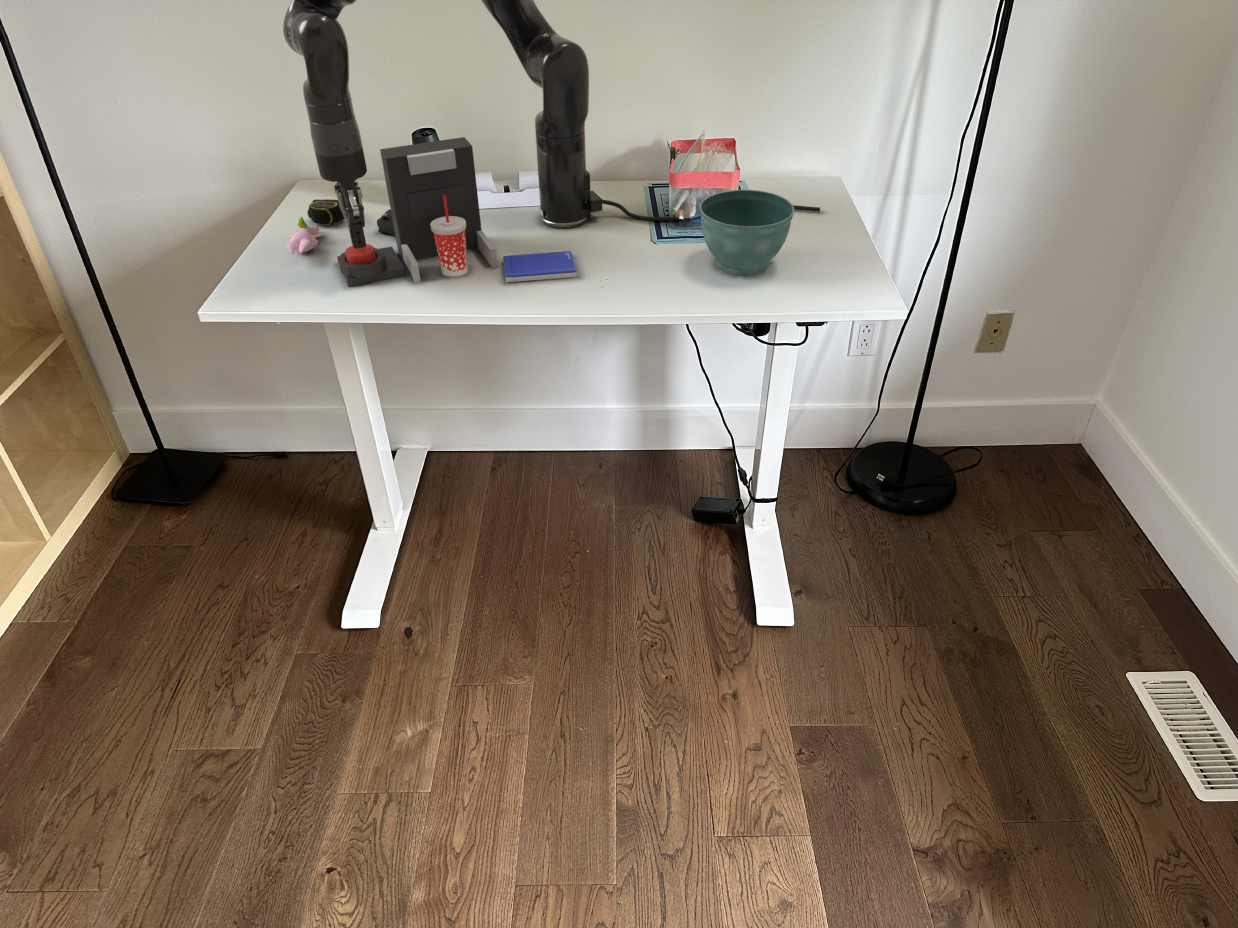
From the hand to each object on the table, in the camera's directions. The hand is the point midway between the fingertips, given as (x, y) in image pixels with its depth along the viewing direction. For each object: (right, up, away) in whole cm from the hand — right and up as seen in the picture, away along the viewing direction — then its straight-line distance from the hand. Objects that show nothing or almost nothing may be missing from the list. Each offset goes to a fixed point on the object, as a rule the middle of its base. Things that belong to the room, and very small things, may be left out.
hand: (359, 246), depth 150 cm
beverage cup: (+16, -3, +5) cm, 17 cm away
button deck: (+1, -3, +5) cm, 6 cm away
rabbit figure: (-13, +2, +12) cm, 18 cm away
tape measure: (-13, +11, +22) cm, 28 cm away
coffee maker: (+14, 0, +8) cm, 16 cm away
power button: (0, -2, +1) cm, 2 cm away
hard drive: (+31, -3, +5) cm, 31 cm away
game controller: (+2, +8, +19) cm, 21 cm away
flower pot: (+67, -2, +6) cm, 68 cm away
